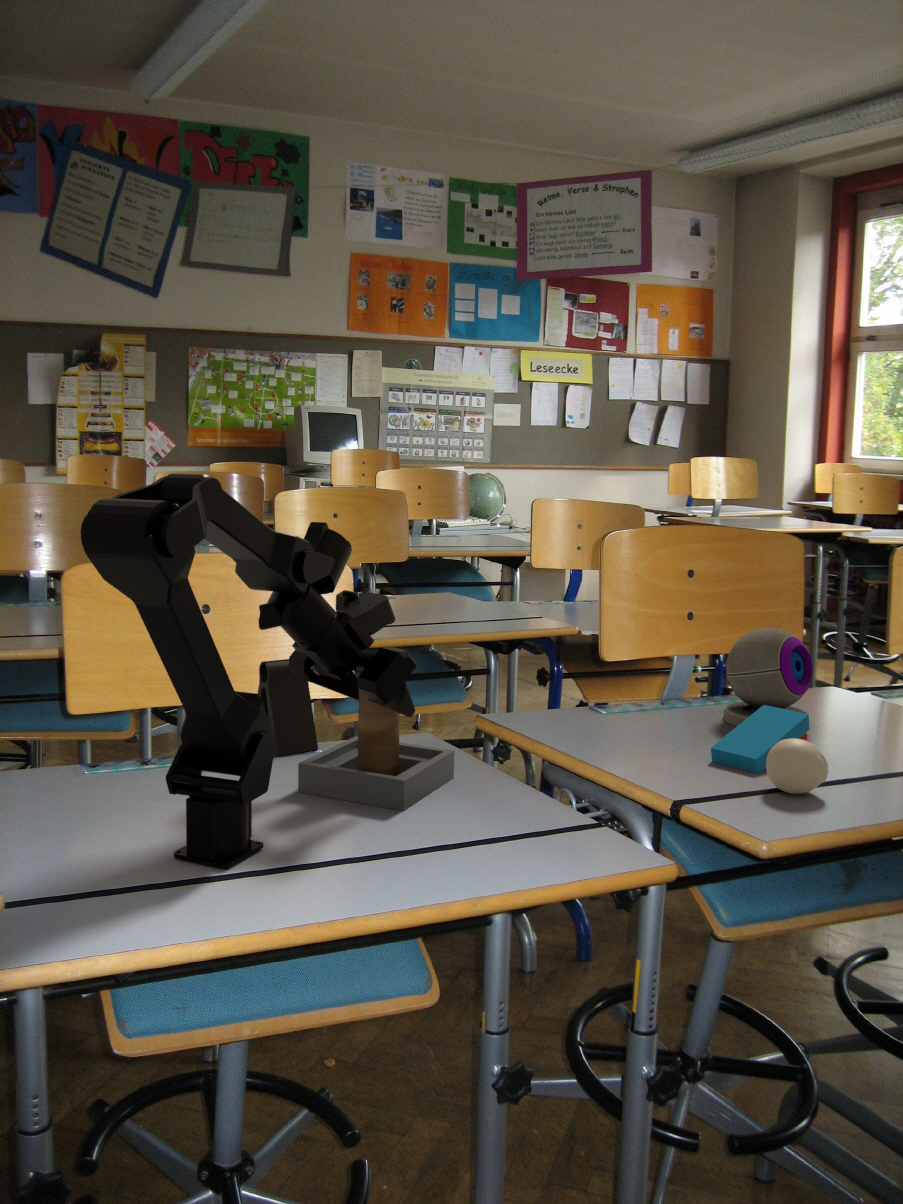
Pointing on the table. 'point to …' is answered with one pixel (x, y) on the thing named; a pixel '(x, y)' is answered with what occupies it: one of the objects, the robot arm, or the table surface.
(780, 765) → the beige ball
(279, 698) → the door stopper
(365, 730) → the walnut peg
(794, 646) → the webcam
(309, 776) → the box
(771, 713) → the teal long block
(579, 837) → the table surface
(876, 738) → the table surface
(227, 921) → the table surface
